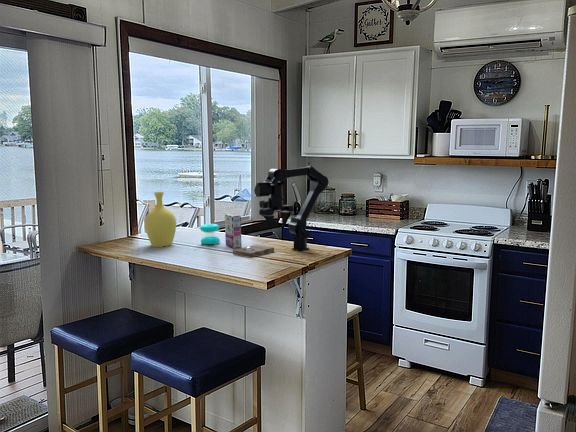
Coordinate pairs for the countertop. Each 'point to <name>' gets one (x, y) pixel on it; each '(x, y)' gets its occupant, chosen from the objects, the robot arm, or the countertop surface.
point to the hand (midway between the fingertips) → (277, 228)
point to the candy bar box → (233, 230)
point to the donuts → (210, 238)
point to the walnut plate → (253, 251)
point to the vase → (160, 224)
